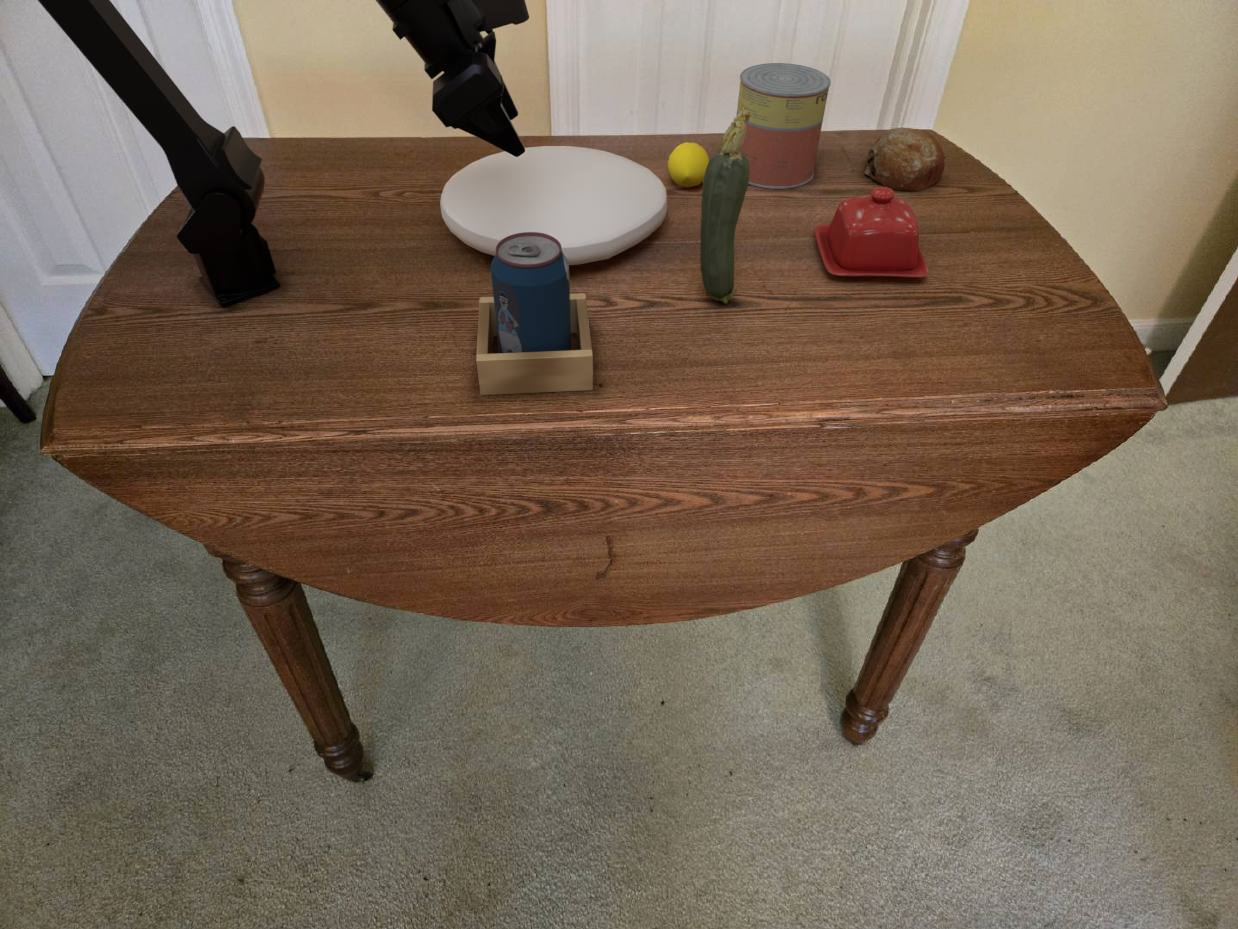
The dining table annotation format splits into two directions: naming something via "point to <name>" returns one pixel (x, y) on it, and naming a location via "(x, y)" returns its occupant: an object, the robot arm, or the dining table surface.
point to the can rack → (534, 358)
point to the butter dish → (872, 238)
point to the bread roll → (905, 159)
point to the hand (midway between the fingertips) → (518, 134)
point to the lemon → (688, 164)
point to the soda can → (531, 294)
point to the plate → (555, 201)
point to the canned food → (782, 122)
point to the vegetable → (723, 210)
